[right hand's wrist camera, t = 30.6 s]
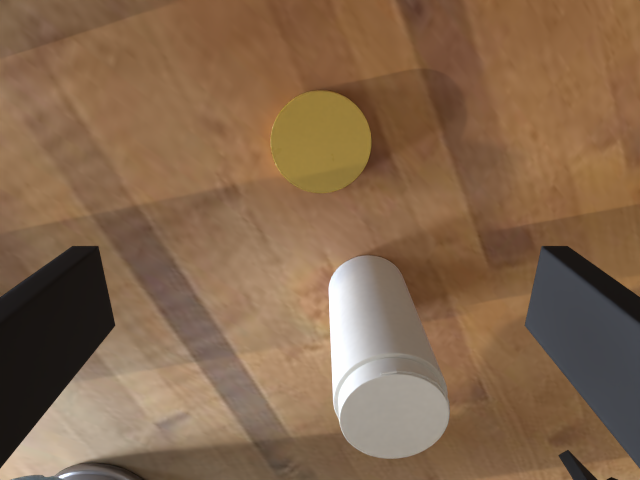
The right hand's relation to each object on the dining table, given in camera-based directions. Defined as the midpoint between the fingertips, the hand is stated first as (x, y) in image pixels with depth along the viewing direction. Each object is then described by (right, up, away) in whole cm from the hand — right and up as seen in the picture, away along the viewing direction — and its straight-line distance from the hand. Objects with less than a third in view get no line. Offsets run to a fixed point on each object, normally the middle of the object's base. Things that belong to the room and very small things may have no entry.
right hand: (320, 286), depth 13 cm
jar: (+5, -4, +33) cm, 34 cm away
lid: (0, +10, +25) cm, 27 cm away
